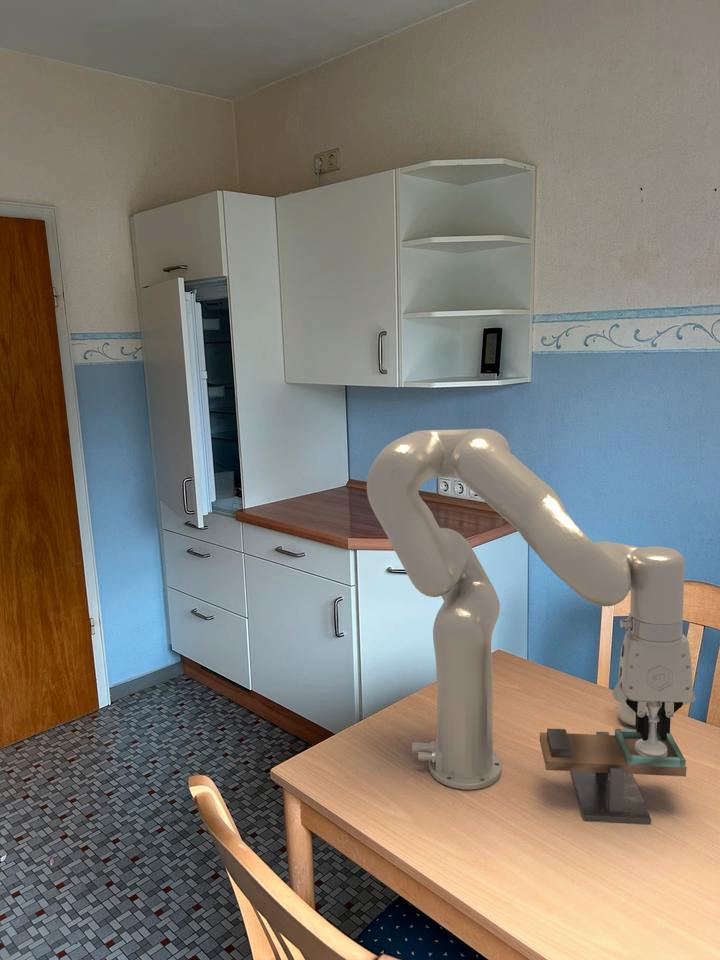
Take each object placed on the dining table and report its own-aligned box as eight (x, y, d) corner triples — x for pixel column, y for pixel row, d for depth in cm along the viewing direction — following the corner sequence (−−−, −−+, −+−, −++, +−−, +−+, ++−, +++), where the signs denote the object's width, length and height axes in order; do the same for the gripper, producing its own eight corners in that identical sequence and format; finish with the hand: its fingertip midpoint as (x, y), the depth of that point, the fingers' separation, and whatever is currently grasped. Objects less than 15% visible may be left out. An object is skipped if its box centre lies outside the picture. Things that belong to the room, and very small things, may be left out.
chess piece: (670, 760, 112) (674, 701, 110) (637, 757, 113) (640, 699, 111) (664, 743, 117) (667, 686, 115) (632, 740, 118) (634, 684, 116)
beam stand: (583, 820, 112) (584, 773, 110) (570, 771, 124) (571, 728, 123) (650, 824, 110) (652, 776, 109) (630, 774, 123) (632, 730, 122)
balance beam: (546, 775, 113) (546, 753, 112) (539, 744, 122) (539, 723, 121) (686, 782, 110) (687, 759, 110) (669, 750, 119) (670, 728, 119)
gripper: (607, 636, 108) (605, 748, 112) (719, 637, 106) (713, 750, 110) (597, 617, 116) (595, 723, 119) (701, 618, 114) (697, 725, 117)
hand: (652, 735), depth 114 cm, fingers closed on chess piece
